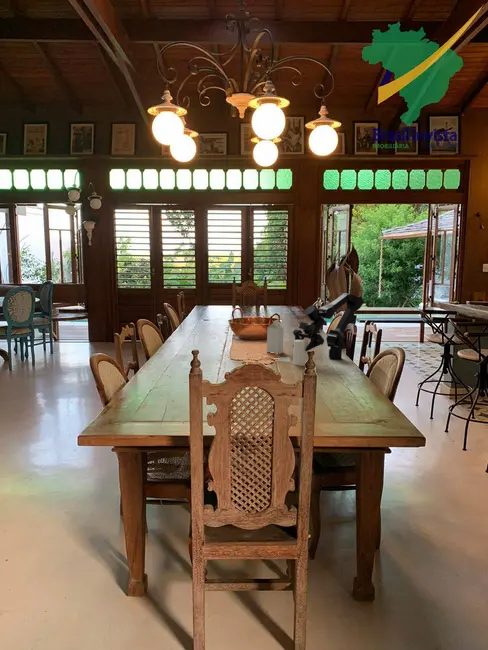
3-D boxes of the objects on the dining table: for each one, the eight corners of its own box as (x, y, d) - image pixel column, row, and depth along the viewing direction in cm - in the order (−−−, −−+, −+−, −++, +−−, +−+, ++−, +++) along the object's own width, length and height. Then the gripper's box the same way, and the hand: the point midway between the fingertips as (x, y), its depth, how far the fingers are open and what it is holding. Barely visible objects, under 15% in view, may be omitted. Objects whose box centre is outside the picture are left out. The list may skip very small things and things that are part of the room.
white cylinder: (299, 362, 261) (301, 339, 259) (309, 365, 255) (310, 341, 253) (290, 363, 257) (291, 340, 255) (299, 366, 251) (300, 342, 249)
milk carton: (266, 353, 280) (267, 320, 277) (271, 351, 287) (272, 319, 284) (277, 355, 277) (279, 321, 274) (282, 352, 283) (284, 320, 280)
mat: (290, 358, 270) (290, 357, 270) (290, 362, 260) (290, 361, 260) (272, 357, 271) (272, 356, 271) (271, 361, 261) (271, 360, 261)
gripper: (296, 314, 262) (279, 336, 257) (321, 318, 247) (304, 342, 243) (305, 327, 268) (290, 349, 263) (331, 333, 253) (315, 356, 249)
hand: (299, 349), depth 254 cm, fingers open, 9 cm apart
